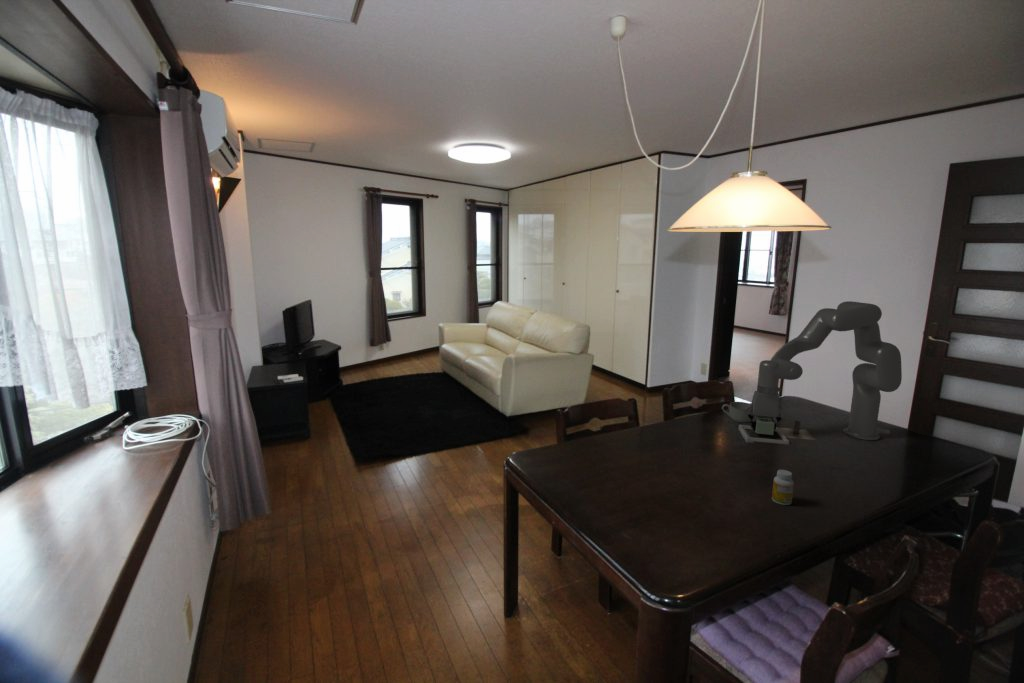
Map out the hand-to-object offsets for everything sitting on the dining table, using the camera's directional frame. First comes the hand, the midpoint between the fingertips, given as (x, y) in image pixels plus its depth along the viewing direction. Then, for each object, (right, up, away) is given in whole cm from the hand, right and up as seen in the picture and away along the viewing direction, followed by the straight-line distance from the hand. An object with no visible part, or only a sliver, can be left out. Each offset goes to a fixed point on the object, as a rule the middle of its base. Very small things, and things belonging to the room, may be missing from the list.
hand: (762, 430), depth 193 cm
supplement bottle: (-22, -13, -51) cm, 57 cm away
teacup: (0, 0, +21) cm, 21 cm away
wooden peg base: (+16, -3, +3) cm, 16 cm away
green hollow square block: (0, -1, 0) cm, 1 cm away
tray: (0, -3, +1) cm, 3 cm away
